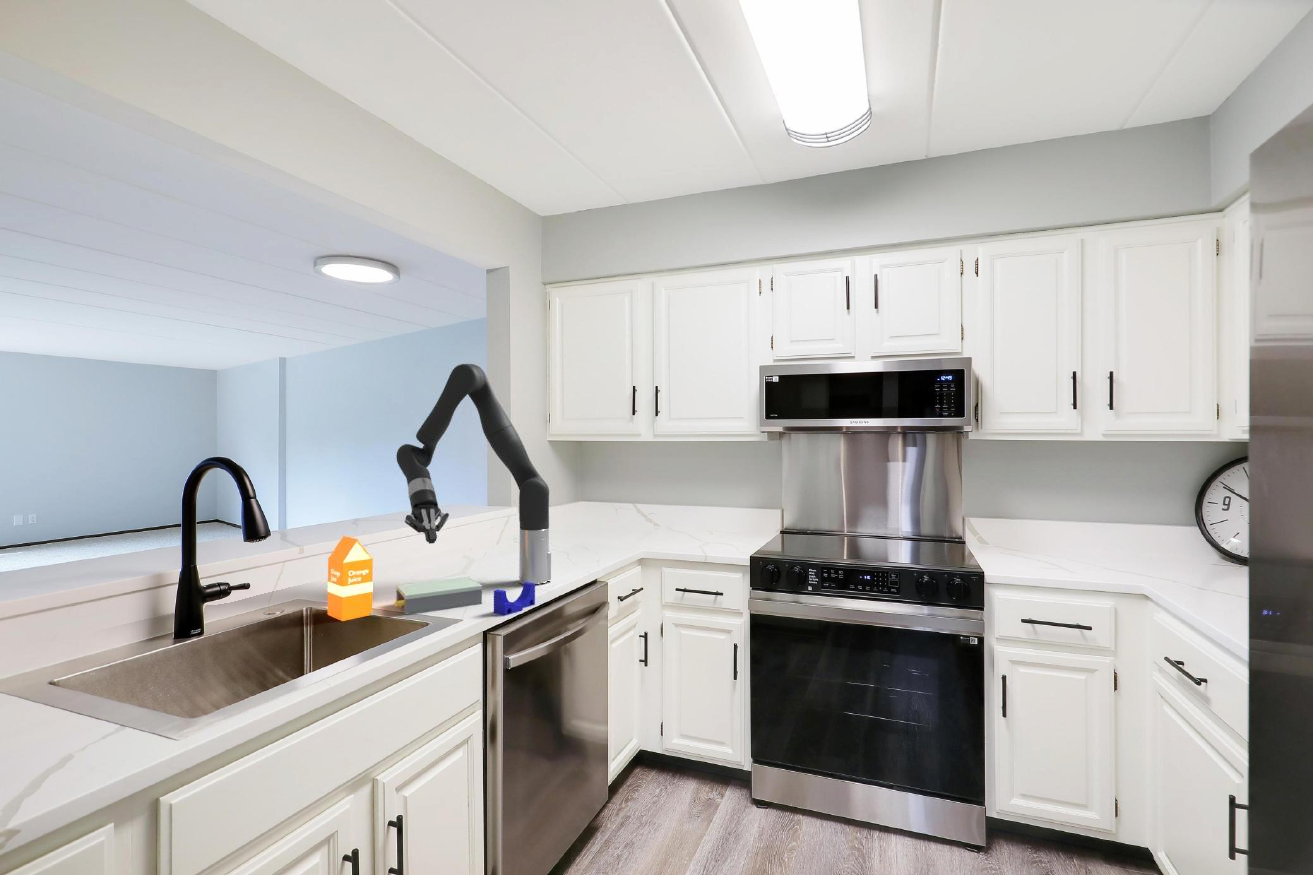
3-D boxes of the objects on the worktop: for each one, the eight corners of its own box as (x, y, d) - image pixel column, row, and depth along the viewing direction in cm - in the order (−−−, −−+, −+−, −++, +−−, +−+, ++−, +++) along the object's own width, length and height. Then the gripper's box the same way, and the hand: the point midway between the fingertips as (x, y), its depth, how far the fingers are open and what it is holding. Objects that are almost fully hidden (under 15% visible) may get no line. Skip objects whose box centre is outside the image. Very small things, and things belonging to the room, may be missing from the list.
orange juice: (357, 608, 161) (358, 534, 161) (372, 614, 156) (373, 537, 156) (326, 614, 155) (327, 537, 155) (341, 621, 150) (342, 541, 150)
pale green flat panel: (469, 580, 176) (469, 576, 176) (482, 589, 166) (482, 585, 166) (396, 589, 165) (396, 585, 165) (405, 599, 155) (405, 595, 155)
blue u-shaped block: (505, 616, 155) (505, 593, 155) (493, 613, 158) (493, 590, 158) (538, 605, 165) (538, 584, 165) (527, 603, 168) (527, 581, 168)
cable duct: (472, 593, 177) (472, 580, 177) (485, 602, 167) (485, 588, 167) (389, 605, 164) (389, 590, 164) (397, 615, 154) (398, 600, 154)
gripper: (401, 488, 178) (410, 535, 168) (447, 487, 185) (458, 532, 175) (397, 504, 182) (405, 551, 172) (441, 503, 190) (452, 547, 180)
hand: (432, 541), depth 174 cm, fingers closed
